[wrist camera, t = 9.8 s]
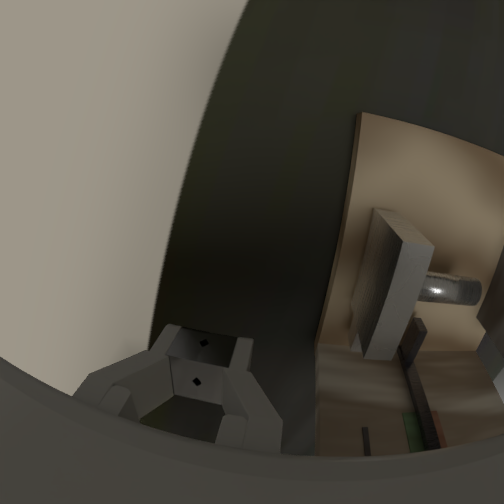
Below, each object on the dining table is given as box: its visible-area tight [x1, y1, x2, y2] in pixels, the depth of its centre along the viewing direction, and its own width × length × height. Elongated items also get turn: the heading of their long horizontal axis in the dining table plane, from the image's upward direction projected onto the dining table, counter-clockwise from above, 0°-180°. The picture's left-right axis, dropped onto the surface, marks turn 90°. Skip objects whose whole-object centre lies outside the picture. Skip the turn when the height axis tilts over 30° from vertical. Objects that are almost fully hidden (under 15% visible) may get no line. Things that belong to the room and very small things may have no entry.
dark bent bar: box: [396, 317, 441, 451], centre depth 13 cm, size 3×2×10 cm, turn 175°
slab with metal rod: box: [348, 208, 482, 361], centre depth 14 cm, size 8×7×5 cm
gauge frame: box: [314, 112, 504, 457], centre depth 11 cm, size 16×14×14 cm
